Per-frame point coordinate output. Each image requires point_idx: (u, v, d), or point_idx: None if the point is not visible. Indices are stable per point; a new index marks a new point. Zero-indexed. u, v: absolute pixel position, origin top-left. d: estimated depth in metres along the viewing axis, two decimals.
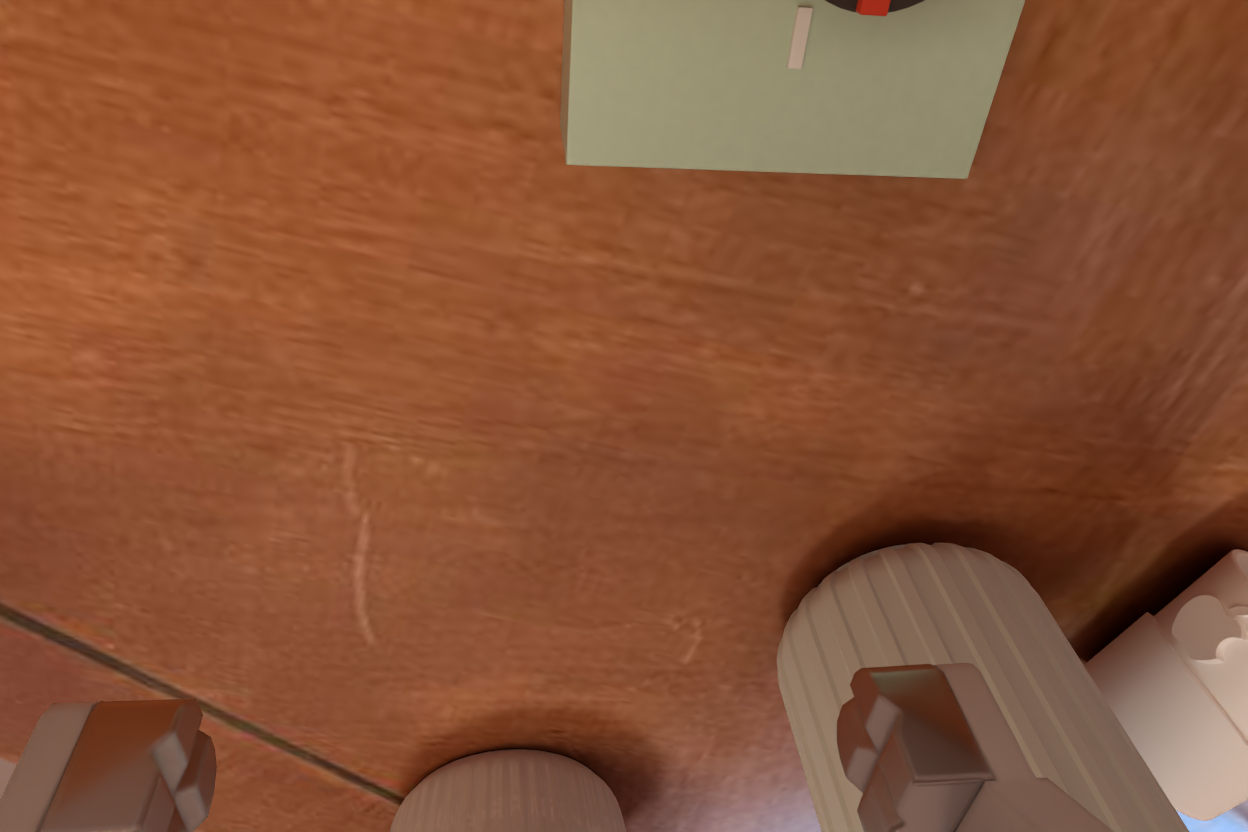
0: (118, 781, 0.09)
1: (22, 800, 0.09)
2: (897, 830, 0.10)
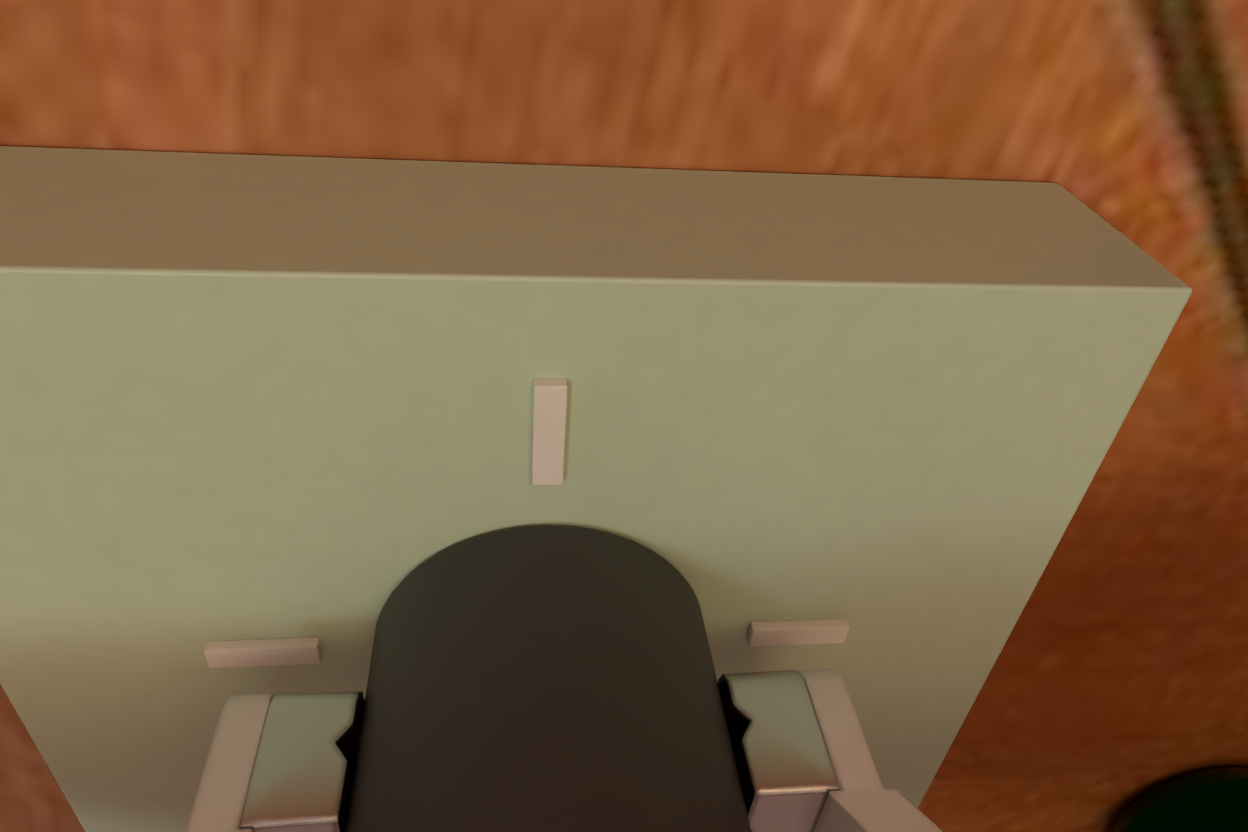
0: (309, 770, 0.09)
1: (221, 789, 0.09)
2: None
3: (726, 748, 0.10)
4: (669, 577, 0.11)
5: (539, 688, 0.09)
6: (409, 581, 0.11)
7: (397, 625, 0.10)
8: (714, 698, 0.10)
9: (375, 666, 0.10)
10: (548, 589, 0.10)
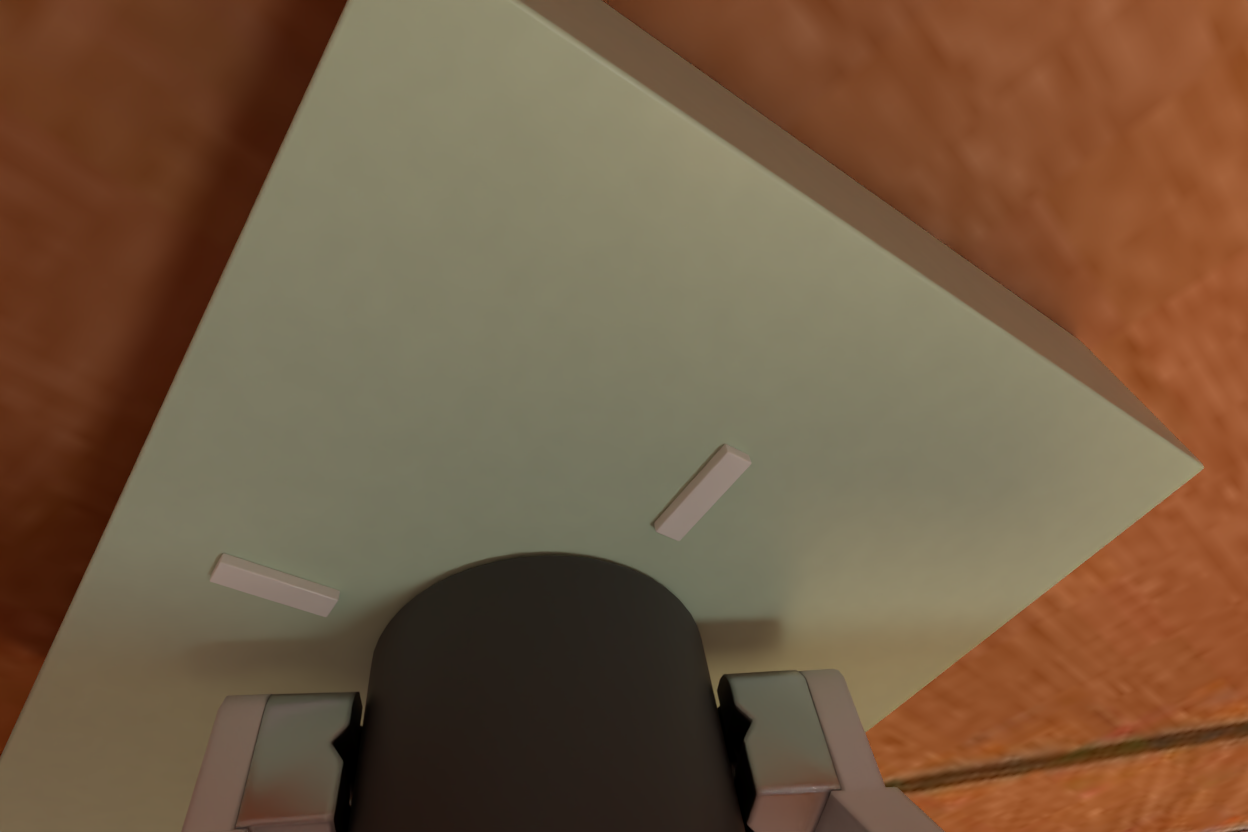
0: (305, 771, 0.09)
1: (217, 789, 0.09)
2: None
3: (728, 783, 0.09)
4: (669, 607, 0.11)
5: (539, 725, 0.09)
6: (407, 611, 0.10)
7: (396, 656, 0.10)
8: (716, 731, 0.10)
9: (373, 698, 0.10)
10: (549, 621, 0.10)
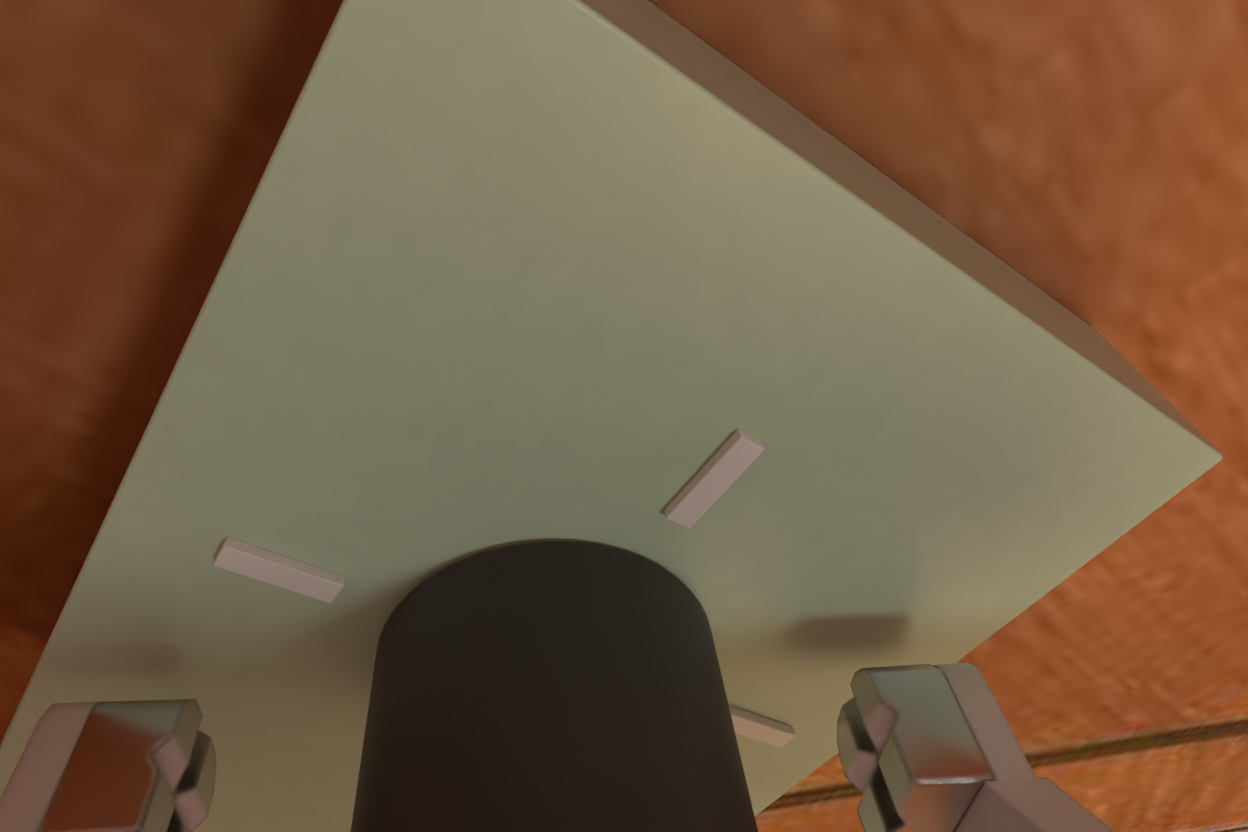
0: (118, 781, 0.09)
1: (22, 800, 0.09)
2: (897, 830, 0.10)
3: (739, 773, 0.09)
4: (680, 595, 0.11)
5: (550, 713, 0.08)
6: (414, 597, 0.10)
7: (403, 642, 0.10)
8: (726, 721, 0.10)
9: (378, 684, 0.10)
10: (557, 608, 0.09)
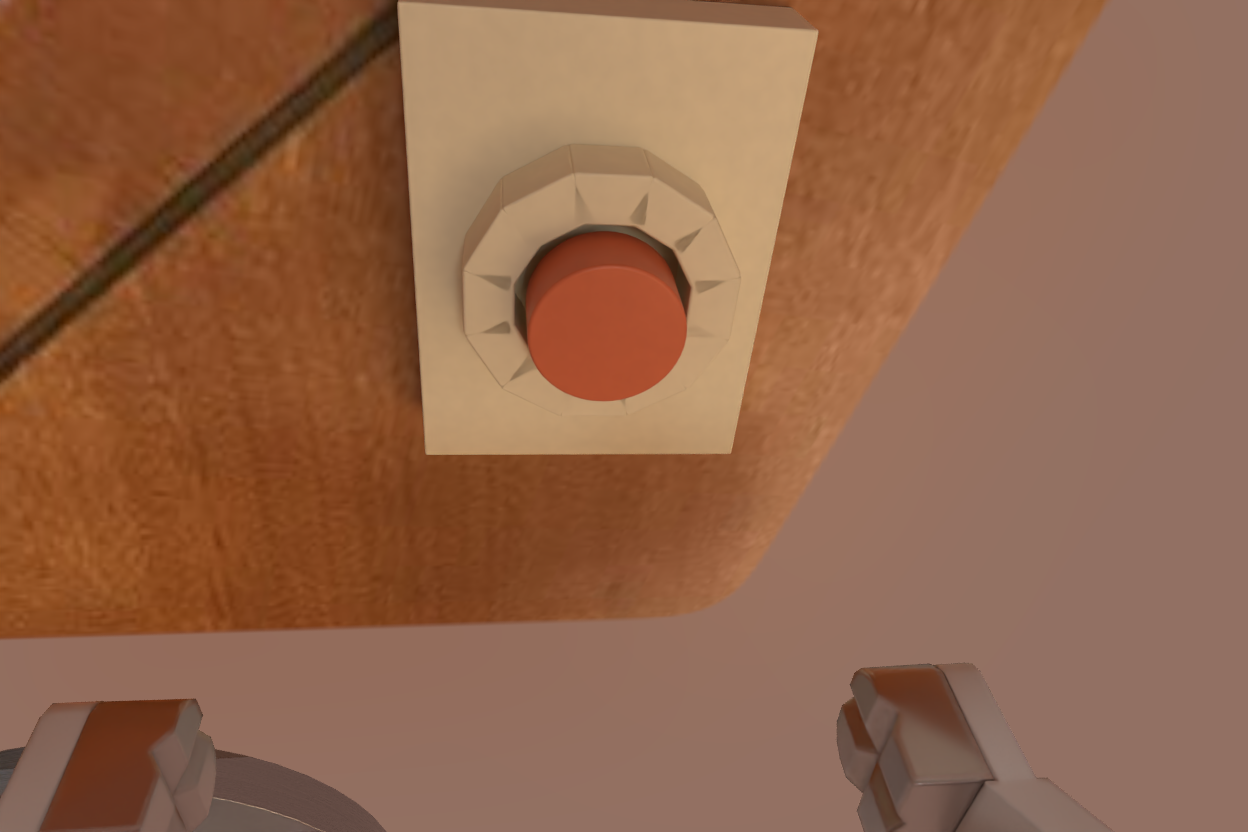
0: (118, 781, 0.09)
1: (22, 800, 0.09)
2: (897, 830, 0.10)
3: None
4: None
5: None
6: None
7: None
8: None
9: None
10: None
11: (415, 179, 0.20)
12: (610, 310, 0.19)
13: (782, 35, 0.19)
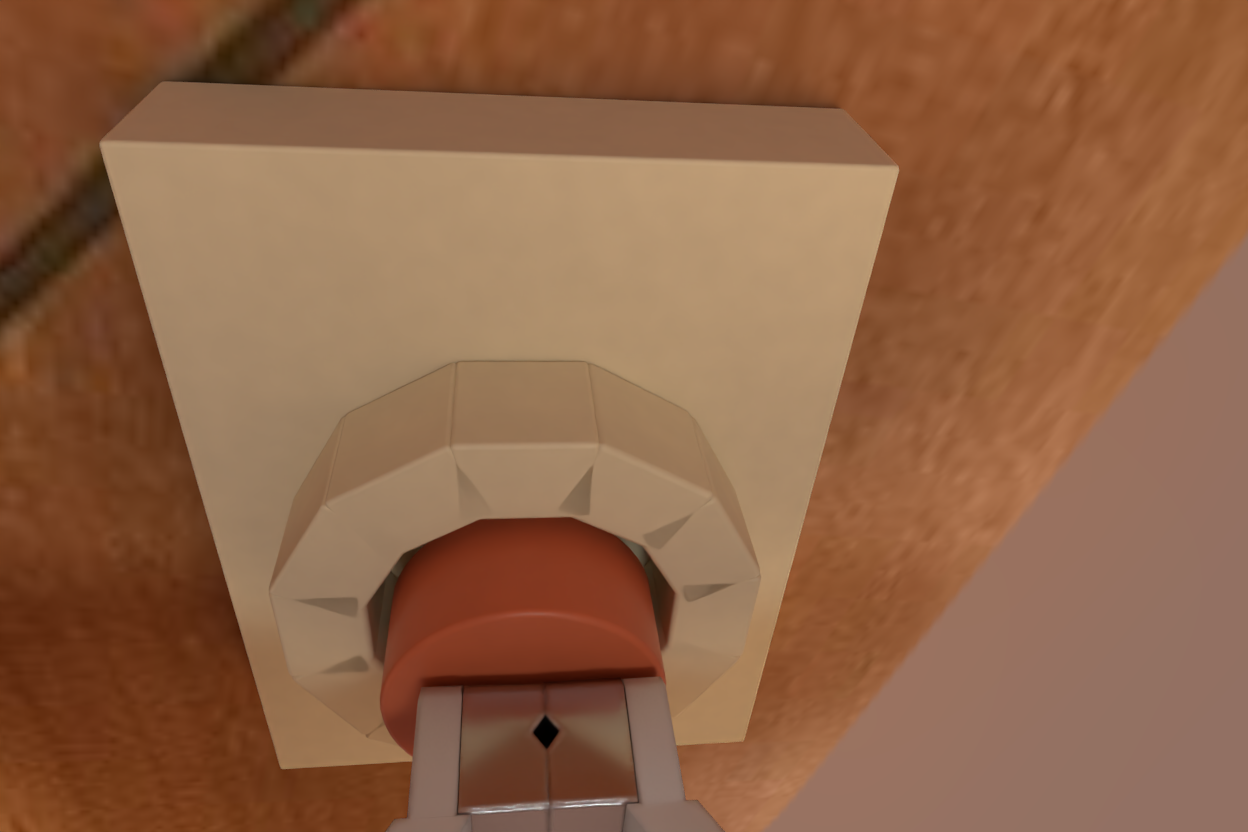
0: (513, 759, 0.09)
1: (433, 776, 0.09)
2: None
3: None
4: None
5: None
6: None
7: None
8: None
9: None
10: None
11: (192, 423, 0.11)
12: (527, 673, 0.11)
13: (833, 176, 0.10)
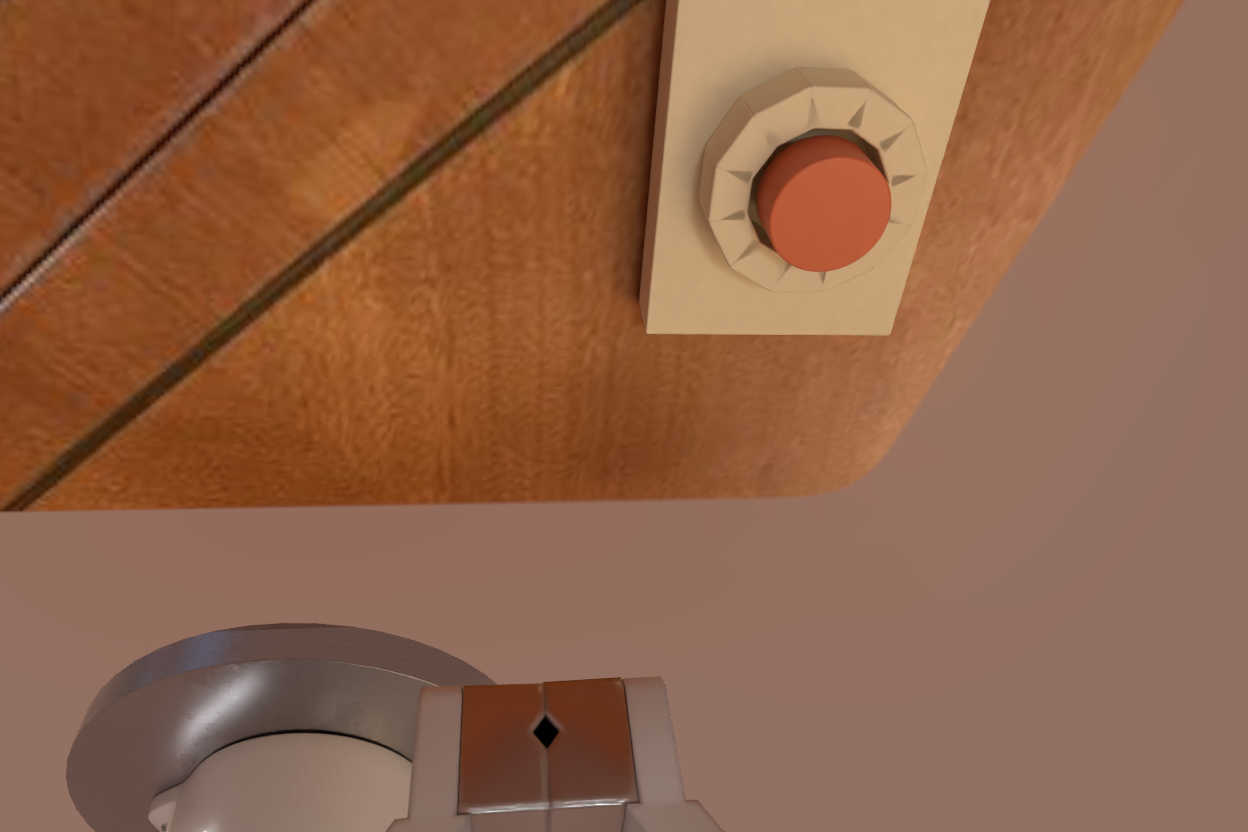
0: (513, 759, 0.09)
1: (433, 776, 0.09)
2: None
3: None
4: None
5: None
6: None
7: None
8: None
9: None
10: None
11: (674, 97, 0.26)
12: (836, 194, 0.25)
13: None
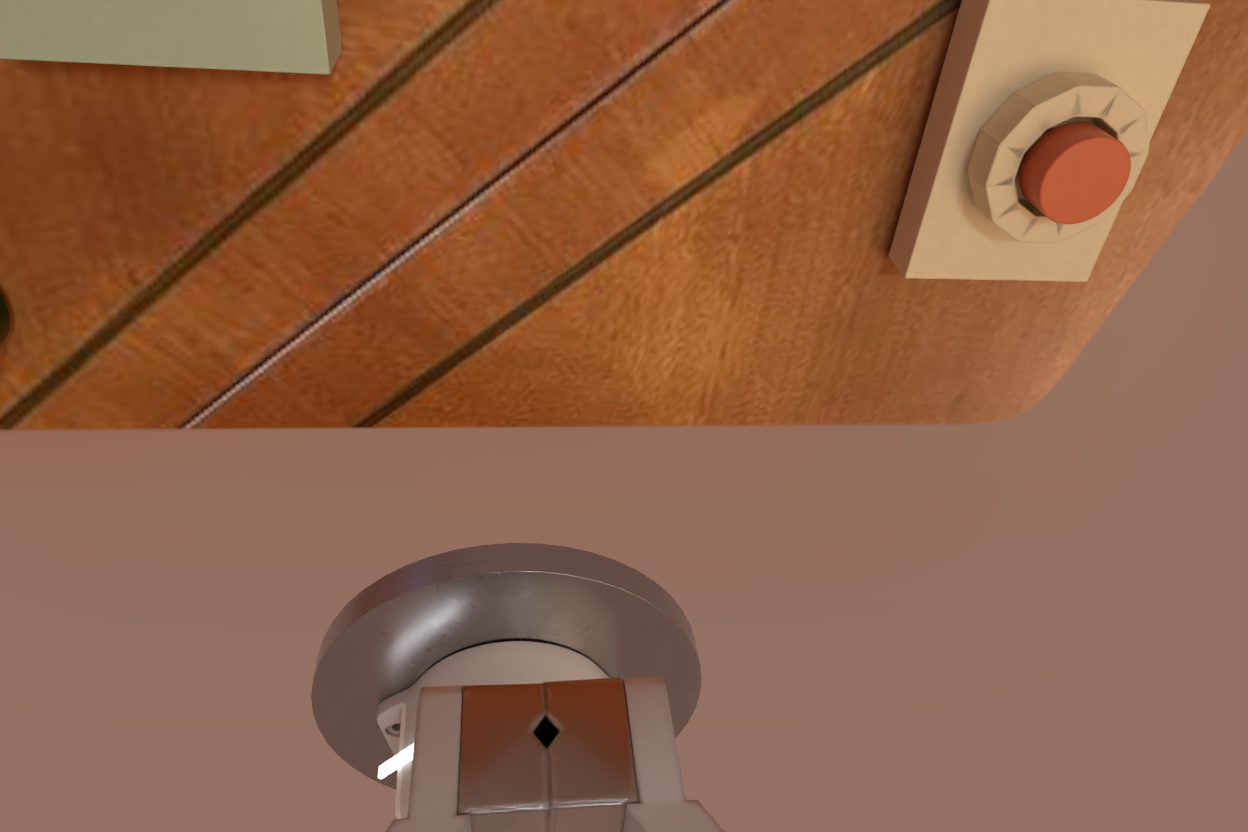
0: (513, 759, 0.09)
1: (433, 776, 0.09)
2: None
3: None
4: None
5: None
6: None
7: None
8: None
9: None
10: None
11: (965, 93, 0.34)
12: (1093, 164, 0.33)
13: (1190, 7, 0.33)
